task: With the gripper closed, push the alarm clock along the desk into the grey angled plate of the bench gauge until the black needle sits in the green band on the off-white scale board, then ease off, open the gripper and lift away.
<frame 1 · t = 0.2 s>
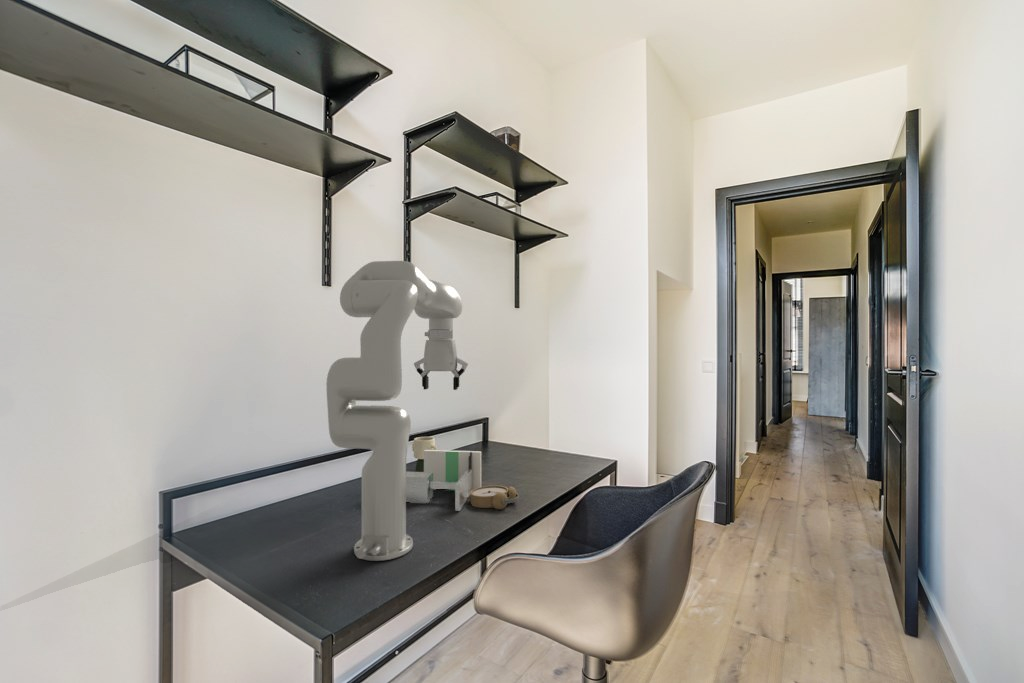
hand: (440, 389, 147), 31 cm above the table, tool pointing down, fingers open, 9 cm apart
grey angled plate: (447, 480, 134), point 6 cm above the table, slide at 0.0 cm
alarm clock: (494, 504, 132), on the table
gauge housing: (410, 499, 135), on the table
character mug: (424, 477, 158), on the table
scale board: (452, 489, 144), on the table
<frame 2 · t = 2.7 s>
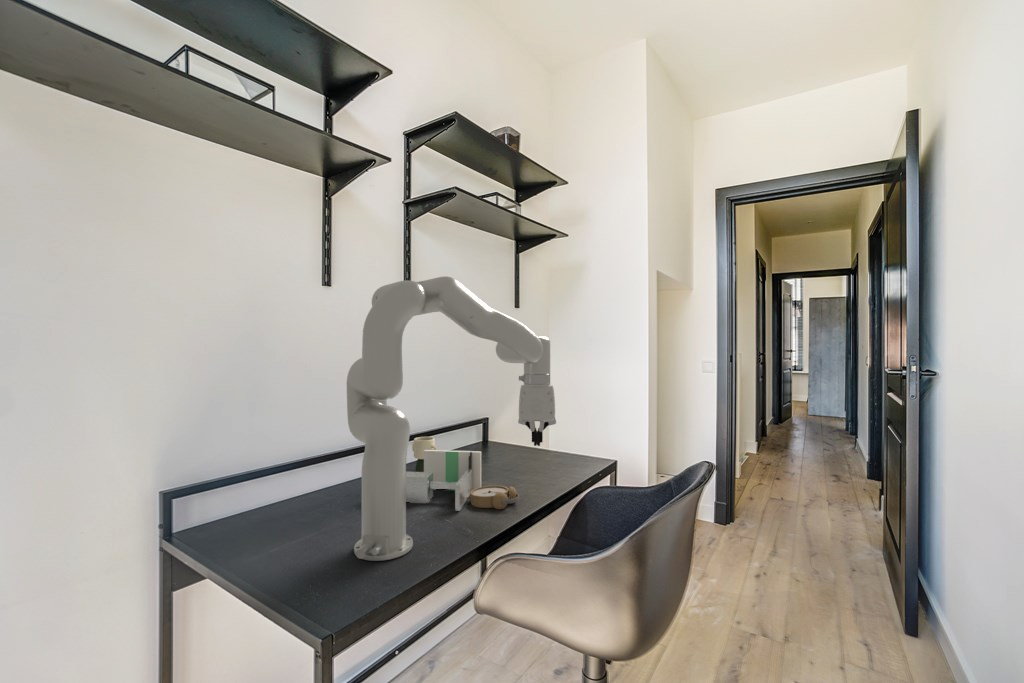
hand: (537, 444, 131), 17 cm above the table, tool pointing down, fingers closed
nothing on the table moved.
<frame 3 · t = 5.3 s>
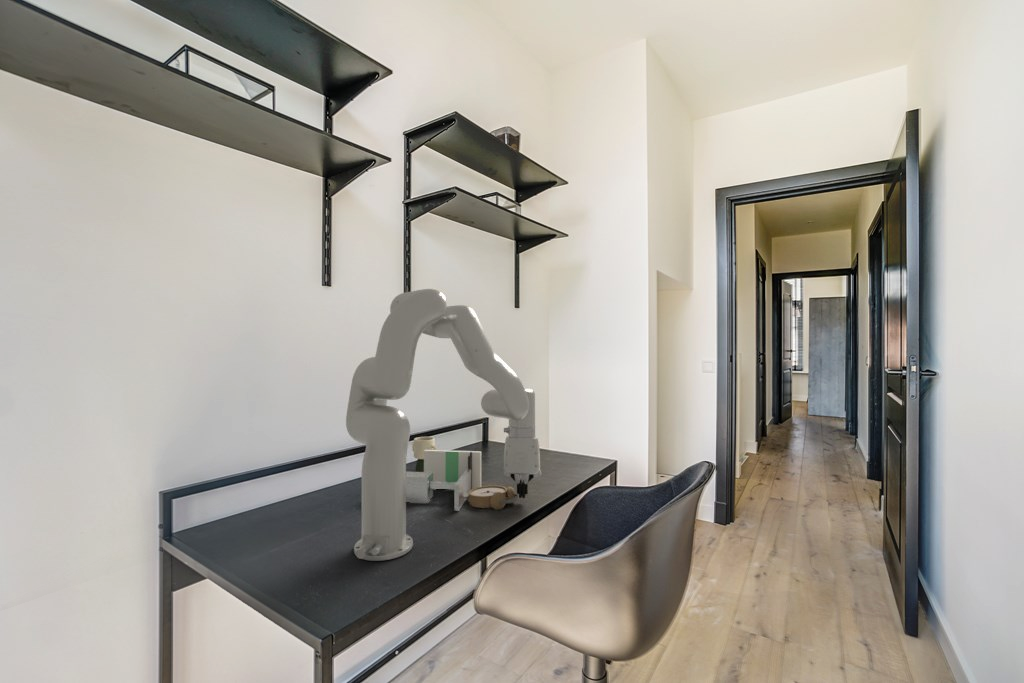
hand: (522, 496, 131), 2 cm above the table, tool pointing down, fingers closed
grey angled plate: (446, 480, 134), point 6 cm above the table, slide at 0.2 cm, touching alarm clock
alarm clock: (493, 504, 132), on the table, touching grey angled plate, gripper
everything else where it was.
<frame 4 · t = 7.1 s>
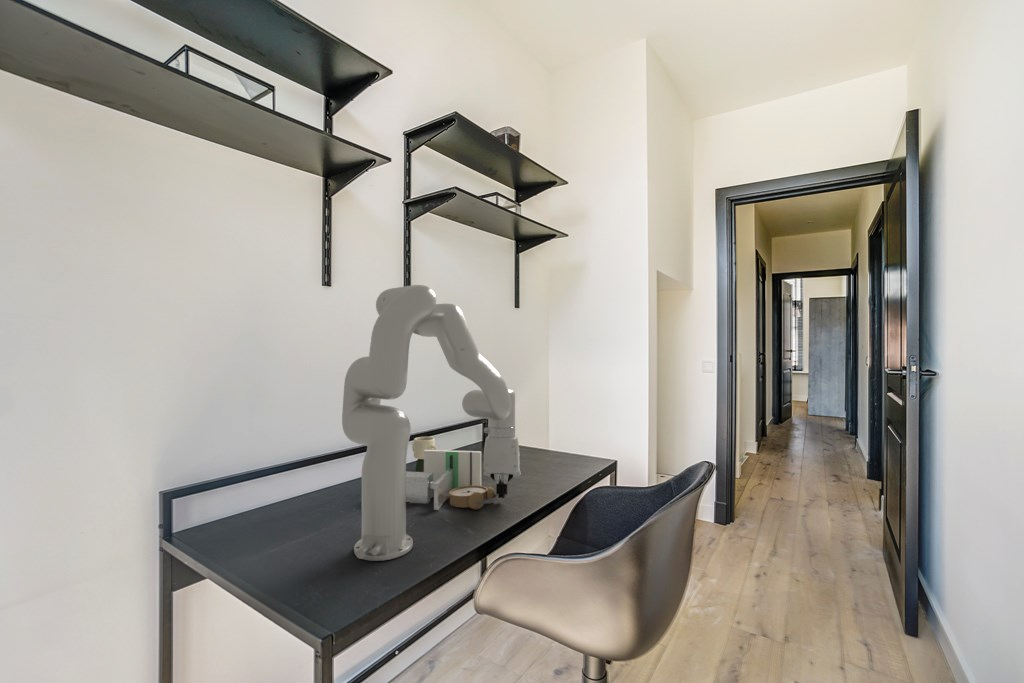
hand: (501, 496, 132), 2 cm above the table, tool pointing down, fingers closed
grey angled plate: (427, 480, 135), point 6 cm above the table, slide at 5.9 cm
alarm clock: (473, 504, 132), on the table
everything else where it was.
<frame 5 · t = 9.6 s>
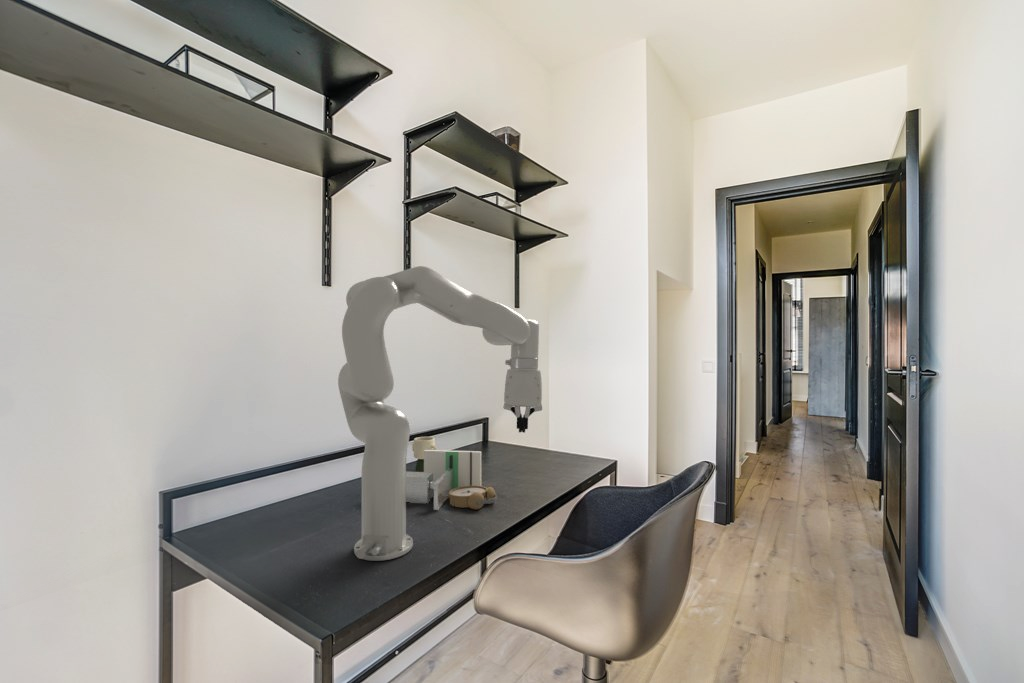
hand: (522, 431, 127), 21 cm above the table, tool pointing down, fingers closed
nothing on the table moved.
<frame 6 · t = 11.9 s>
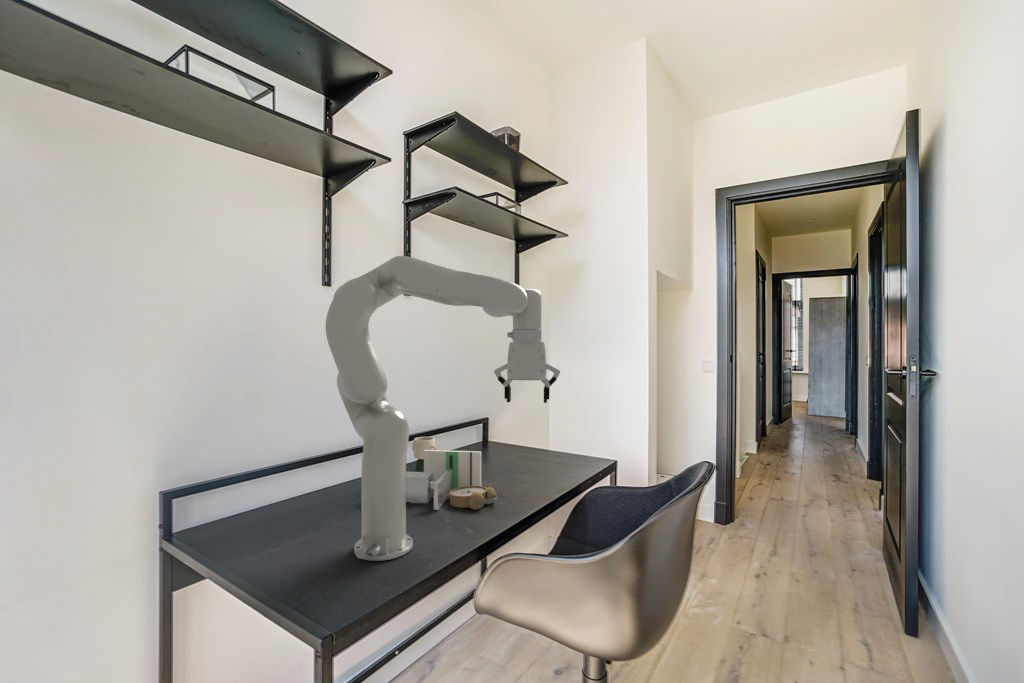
hand: (527, 402, 121), 30 cm above the table, tool pointing down, fingers open, 9 cm apart
nothing on the table moved.
at the end: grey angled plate slide at 6.0 cm; alarm clock moved 6.1 cm from its start; alarm clock tilted 0° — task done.
